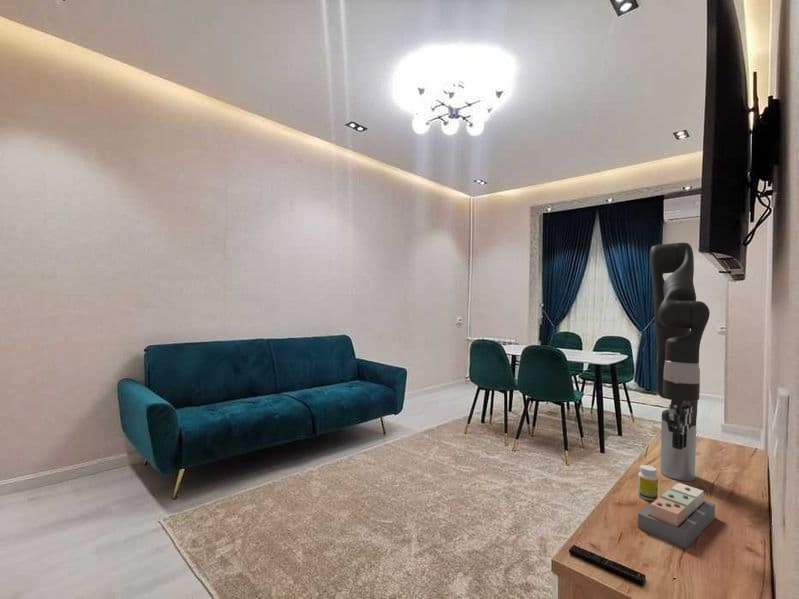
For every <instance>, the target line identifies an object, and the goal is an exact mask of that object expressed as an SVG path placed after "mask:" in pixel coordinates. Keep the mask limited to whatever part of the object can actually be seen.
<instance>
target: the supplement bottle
mask: <svg viewBox="0 0 799 599" xmlns="http://www.w3.org/2000/svg"><path fill="white" fill-rule="evenodd" d="M657 472H658V471H657V468H656V467H654V466H651V465H648V464H641V465H640V466H639V472H638V474H637V476H638V479H637V496H638V497H640V498H641V499H643V500H646V501H652V502H654V501H655V500H657V499H658V491H659V490H658V486H659V485H658V483H659V481H658V480H659V478H658V476H657Z"/></svg>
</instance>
